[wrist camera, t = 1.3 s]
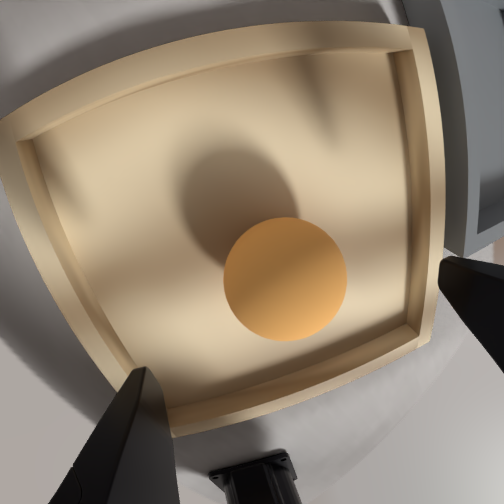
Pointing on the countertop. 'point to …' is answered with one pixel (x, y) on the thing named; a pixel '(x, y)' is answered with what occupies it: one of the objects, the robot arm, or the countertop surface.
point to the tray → (468, 114)
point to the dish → (235, 204)
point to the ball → (285, 279)
